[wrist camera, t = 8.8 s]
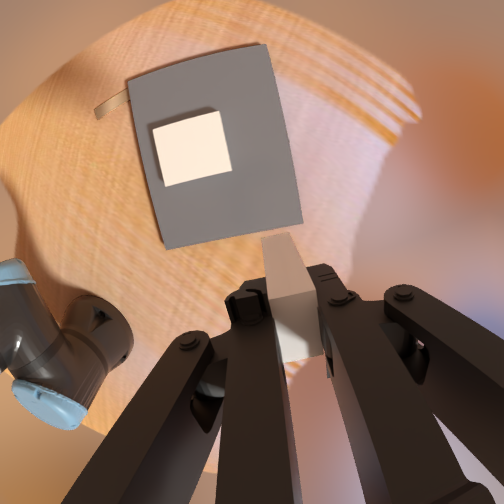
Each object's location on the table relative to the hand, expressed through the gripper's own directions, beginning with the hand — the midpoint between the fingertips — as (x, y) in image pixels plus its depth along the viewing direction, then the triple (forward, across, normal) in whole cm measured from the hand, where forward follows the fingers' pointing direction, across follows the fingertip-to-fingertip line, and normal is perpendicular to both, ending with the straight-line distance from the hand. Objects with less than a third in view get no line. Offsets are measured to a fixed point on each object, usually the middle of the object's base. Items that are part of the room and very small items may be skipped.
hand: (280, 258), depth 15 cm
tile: (+22, -3, +8) cm, 24 cm away
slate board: (+25, -5, +8) cm, 26 cm away
